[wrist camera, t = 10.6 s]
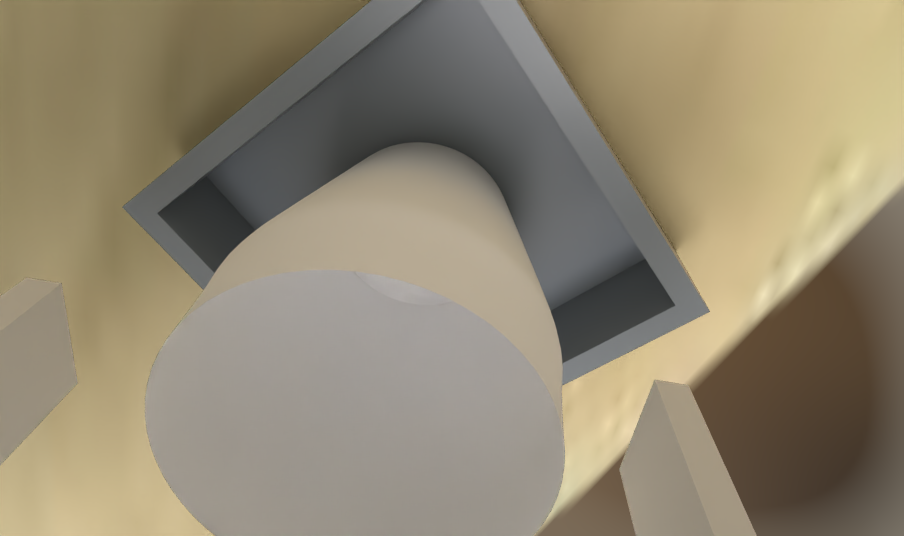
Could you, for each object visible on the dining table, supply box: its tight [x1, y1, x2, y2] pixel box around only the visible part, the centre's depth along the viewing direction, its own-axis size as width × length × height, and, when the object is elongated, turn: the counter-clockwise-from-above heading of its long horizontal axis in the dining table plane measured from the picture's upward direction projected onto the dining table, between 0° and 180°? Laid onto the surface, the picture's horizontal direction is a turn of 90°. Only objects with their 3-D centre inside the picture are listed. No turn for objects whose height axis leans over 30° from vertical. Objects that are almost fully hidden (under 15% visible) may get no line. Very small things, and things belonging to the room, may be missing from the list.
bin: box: [123, 0, 710, 385], centre depth 22 cm, size 14×14×4 cm
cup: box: [145, 142, 565, 536], centre depth 18 cm, size 9×9×12 cm
